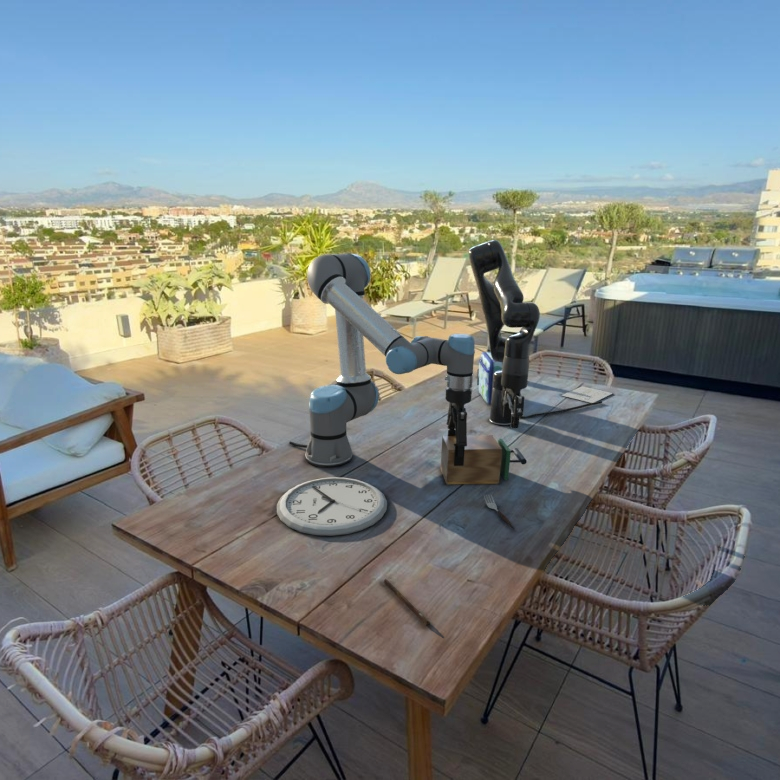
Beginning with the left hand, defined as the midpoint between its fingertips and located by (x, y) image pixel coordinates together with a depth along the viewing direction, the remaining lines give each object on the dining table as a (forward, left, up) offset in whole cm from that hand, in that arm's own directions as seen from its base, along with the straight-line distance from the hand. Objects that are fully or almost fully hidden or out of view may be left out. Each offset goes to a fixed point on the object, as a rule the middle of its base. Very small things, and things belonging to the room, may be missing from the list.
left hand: (454, 457), depth 159 cm
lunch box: (+6, +80, -6) cm, 81 cm away
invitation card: (+48, +100, -6) cm, 111 cm away
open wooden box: (+4, +2, -6) cm, 8 cm away
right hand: (+15, +6, +11) cm, 20 cm away
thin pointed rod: (-2, -60, -6) cm, 60 cm away
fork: (+15, -20, -6) cm, 26 cm away
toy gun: (0, +119, -6) cm, 120 cm away
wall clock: (-30, -27, -6) cm, 41 cm away
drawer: (+10, +4, -5) cm, 12 cm away
